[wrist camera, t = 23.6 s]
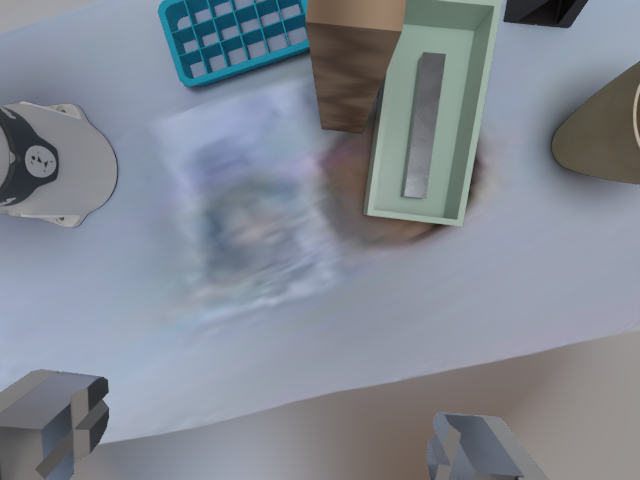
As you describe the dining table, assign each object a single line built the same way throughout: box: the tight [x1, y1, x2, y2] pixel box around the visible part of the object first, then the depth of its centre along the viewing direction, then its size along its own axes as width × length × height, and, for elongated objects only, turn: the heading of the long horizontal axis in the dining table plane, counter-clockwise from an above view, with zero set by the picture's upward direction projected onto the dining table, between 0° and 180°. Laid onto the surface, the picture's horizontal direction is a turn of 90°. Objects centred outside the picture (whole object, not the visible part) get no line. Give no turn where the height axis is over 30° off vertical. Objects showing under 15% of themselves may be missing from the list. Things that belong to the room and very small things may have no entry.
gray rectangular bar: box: [400, 52, 446, 199], centre depth 42 cm, size 3×19×2 cm, turn 175°
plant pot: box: [552, 61, 640, 184], centre depth 35 cm, size 15×15×16 cm
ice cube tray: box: [158, 0, 309, 87], centre depth 42 cm, size 12×20×3 cm, turn 106°
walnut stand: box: [306, 0, 406, 133], centre depth 31 cm, size 6×12×26 cm, turn 173°
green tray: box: [363, 0, 502, 226], centre depth 41 cm, size 13×28×6 cm, turn 173°
